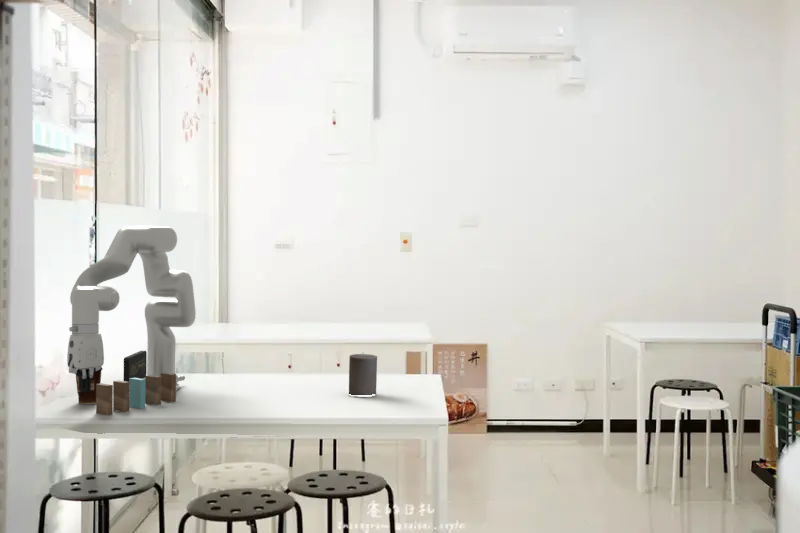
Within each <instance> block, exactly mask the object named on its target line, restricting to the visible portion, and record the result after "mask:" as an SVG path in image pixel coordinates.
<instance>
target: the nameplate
mask: <svg viewBox="0 0 800 533" xmlns="http://www.w3.org/2000/svg"><path fill="white" fill-rule="evenodd" d="M147 360H148V351H147V350H139V351H137V352H135V353H132V354H130V355H128V356H125V357H124V358H123V381H126V382H129V386H130V378H140V379H145V376H147Z"/></svg>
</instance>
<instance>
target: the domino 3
mask: <svg viewBox="0 0 800 533" xmlns="http://www.w3.org/2000/svg"><path fill="white" fill-rule="evenodd" d="M144 379H145V405H153V406H159V405H162V401H161V376H154V375H147V374H146V376H145V377H144Z"/></svg>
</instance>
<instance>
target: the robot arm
mask: <svg viewBox="0 0 800 533" xmlns="http://www.w3.org/2000/svg"><path fill="white" fill-rule="evenodd" d="M177 243H178V235H177V232H176V230H175V229H174V228H173V227H171V226H160V225H159V226H158V225H157V226H156V225H155V226H153V225H135V226H134V225H133V226H132V225H131V226H130V225H129V226H128V225H126V226H123V227H121V228H120V229H119V230H118V231H117V232H116V234H115V236H114V238H113V239H112V242H111V244H110V245H109V248H108V249H107V252H105V255H104V256H103V258H102V259H99V260H98V261H96V262H95V263H93V264H92V265H91V266H89V267H87V268H86V269H85V270H83V271H82V273H81V274H79V276H78V278H77V279H76V281H75V282H74V285H73V287H72V289H71V292H70V296H69V297H70V298H69V299H70V305H71V326H70V327H69V328H68V329H69V332H71V334H70V335H69V338H68V345H67V359H66V363H67V367H68V373H70V374H74V375H75V377H76V376H77V378H79V391H81V392H90V391H91V378H92V377H93V374H94V373H95V371H97V370H100V369H101V367H102V366H104V364H105V361H104V360H105V354H104V351H105V350H104V344H103V343H104V342H103V337H102V334H101V333H100V332H99V329H100V328H99V327H100V326H99V324H100V323H99V322H100V321H99V320H100V312H110V311H112V310H114V309H116V308H117V307H118V305H119V303H120V300H121V299H120V293H119V292H118V290H117V289H116V288H114V287H112V286H104V285H103V286H102V285H99V284H102V283H103V282H107V281H109V280H112V279H115V278H118V277H121V276H123V275H125V274H127V273H128V272H129V270H130V269H131V267H132V265H133V262H134V260H135V259H136V257H137V254H138V255H139V256H140V258H141V261H142V267H143V276H144V282H145V289H146V293H147V294H148V295H150V296H151V297H155V298H158V299H152V300H150V301H148V303H146V305H145V308H144V319H145V323H146V333H147V366H146V376H147V375H154V376H161V373H173V374H176V345H177V344H176V343H177V342H176V337H175V334H174V333H173V331H172V328H189V327H191V326H192V325H193V324H194V323H195V320H196V314H197V313H196V312H197V311H196V305H195V304H196V303H195V293H194V285H193V279H192V276H191V275H190V274H189V273H188V272H187V271H185V270H180V269H179V270H178V269H177V270H176V269H171V268H170V265H169V264H170V263H169V260H168V254H167V253H168V252H169V253H170V252H172V251H174V249H175V248H176V247H177V245H178V244H177ZM161 298H162V299H161ZM164 298H165V299H164ZM168 298H169V299H168ZM170 298H175V299H170ZM75 368H76V369H75ZM185 379H186V376H185V375H184V374H181V375H178V374H176V391H177V390H179V389H180V387H181V386H180V384H179V383H178V382H182V381H185Z"/></svg>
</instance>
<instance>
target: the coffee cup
mask: <svg viewBox="0 0 800 533" xmlns="http://www.w3.org/2000/svg"><path fill="white" fill-rule="evenodd" d="M75 369H76V368H75ZM102 371H103V367H102V366H101V369H100V370H97V371H95V373H94V374H93V377H92V378H91V391H90V392H81V391H79V378H77V376H76V375H75V381H76V391H77V396H78V403H79V404H82V405H96V384H100V383H102V382H101V379H102Z"/></svg>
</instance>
